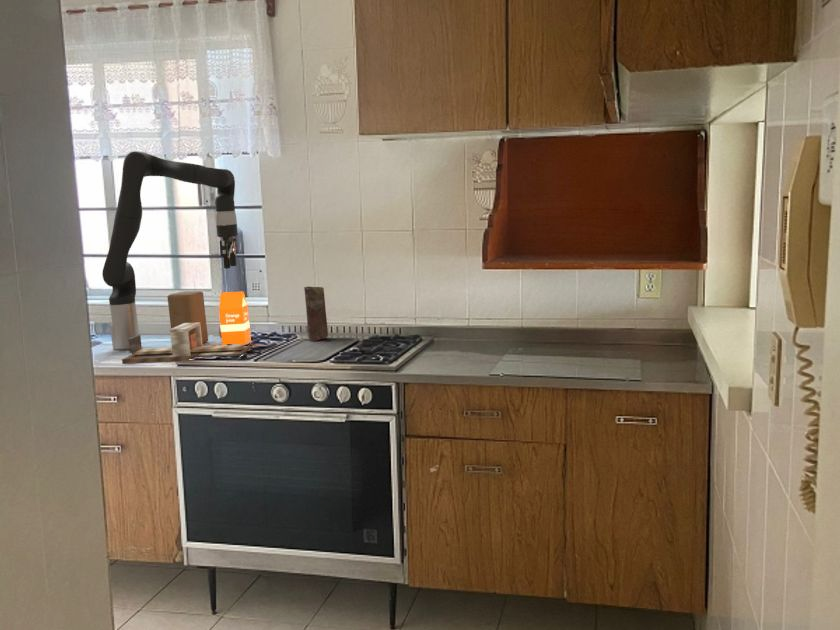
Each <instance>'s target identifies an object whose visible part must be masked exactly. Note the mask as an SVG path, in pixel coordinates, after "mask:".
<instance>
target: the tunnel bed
mask: <svg viewBox="0 0 840 630" xmlns="http://www.w3.org/2000/svg"><path fill="white" fill-rule="evenodd" d="M188 333H196V340H197V346H204V343H203V344H202V335H201V325H200V322H196V323H183V324H181V325H179V326H177V327H174V328H172V329H171V328H169V335H170V342H171V343H170V344H171V348H172V353H164V354H143V355H132V354H130V355H128V356H126V357H124V358H122V359H121V362H122V365H123V364H139V363H140V364H141V363H143V364H144V363H163V362H164V363H166V362H167V363H169V362H182V361H181V360H189V359H193V358H195V357H212V356H241V355H242V354H243V353H245V352H246V351H248V350H249V349H251V348H253V345H248V346H244V348H242V349H241V350H228V351H206V352H190V343H189V334H188ZM189 361H190V360H189Z"/></svg>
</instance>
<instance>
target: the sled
mask: <svg viewBox="0 0 840 630" xmlns="http://www.w3.org/2000/svg"><path fill="white" fill-rule="evenodd" d="M188 334H189V343H190V352H206V351H228V350H241V349H242V348H244V344H239V345H222V344H221V345H203V346H197V340H196V333H188ZM141 337H142V336H141V334H139V335H136V336H134V337H131V338H129V339H128V340H129V348H130V349H129V354H130V355H143V354H164V353H172V347H161V348H143V345H142V340H141V339H142V338H141Z"/></svg>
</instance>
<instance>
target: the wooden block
mask: <svg viewBox="0 0 840 630" xmlns="http://www.w3.org/2000/svg"><path fill="white" fill-rule="evenodd" d="M167 305H168V313H169V324H170V329H172V328H174V327H177V326H179V325H181V324H183V323H196V322H200V325H201V335H202V344H203V345H204V344H205V343H208V342H209V335H208V334H209V333H208V327H207V318H206V308H205V297H204V293H203V291H201V290H198V291H197V290H194V291H193V290H192V291H187V290H186V291H180V292H175V293H172V294H169V295H167Z"/></svg>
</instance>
